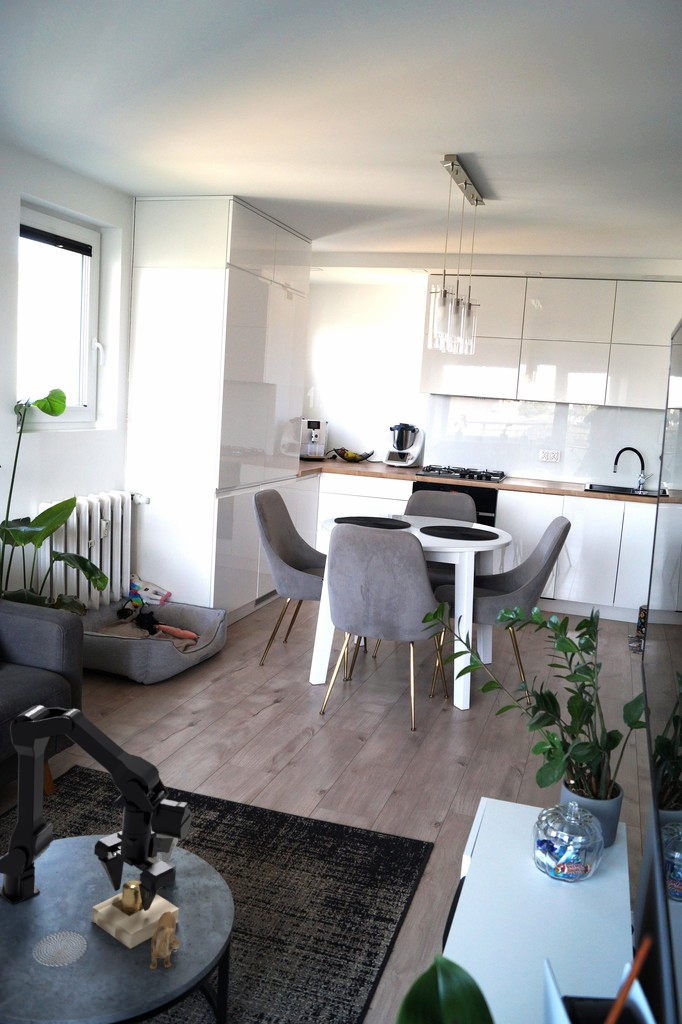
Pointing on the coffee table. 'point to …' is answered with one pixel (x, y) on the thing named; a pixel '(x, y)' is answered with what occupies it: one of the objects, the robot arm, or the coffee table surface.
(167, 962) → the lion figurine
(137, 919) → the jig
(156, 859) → the watch
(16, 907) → the coffee table surface
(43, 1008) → the coffee table surface
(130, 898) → the brass cylinder plug
